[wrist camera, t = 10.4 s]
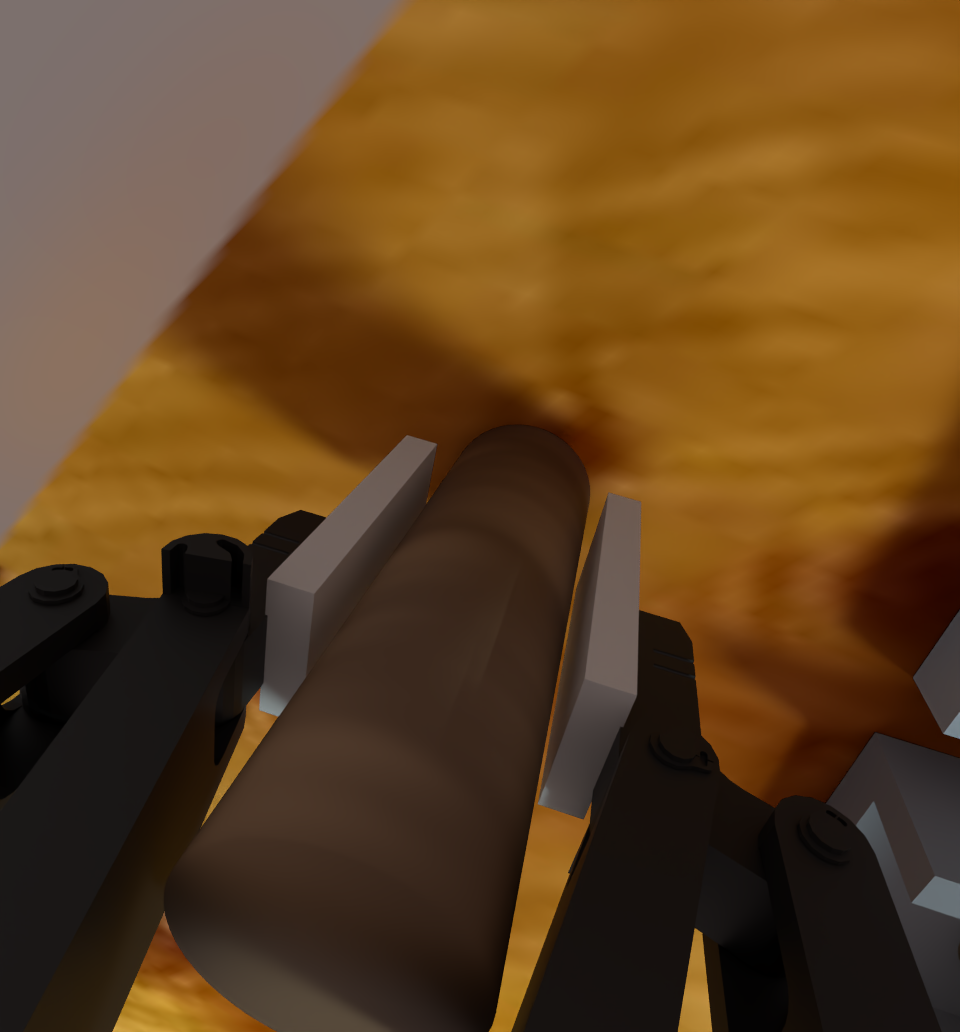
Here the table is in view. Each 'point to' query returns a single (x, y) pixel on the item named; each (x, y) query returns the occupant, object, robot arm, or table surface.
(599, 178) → the table surface
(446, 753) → the pin
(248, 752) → the table surface
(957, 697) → the socket
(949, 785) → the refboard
